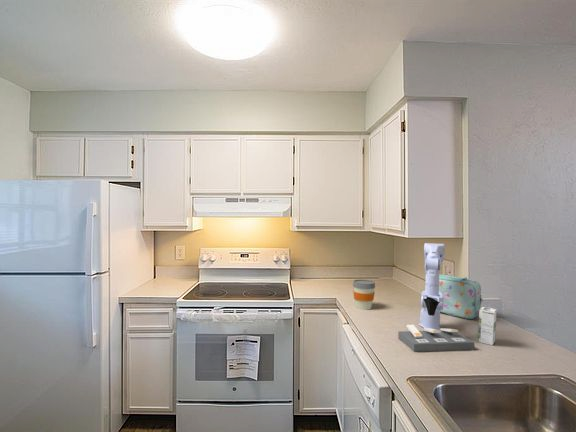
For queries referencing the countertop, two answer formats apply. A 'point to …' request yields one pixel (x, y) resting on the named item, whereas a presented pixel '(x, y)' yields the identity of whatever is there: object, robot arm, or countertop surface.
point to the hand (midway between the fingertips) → (431, 315)
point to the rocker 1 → (414, 331)
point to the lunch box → (460, 296)
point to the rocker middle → (432, 330)
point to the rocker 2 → (449, 330)
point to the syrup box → (487, 325)
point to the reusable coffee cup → (363, 293)
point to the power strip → (436, 341)
